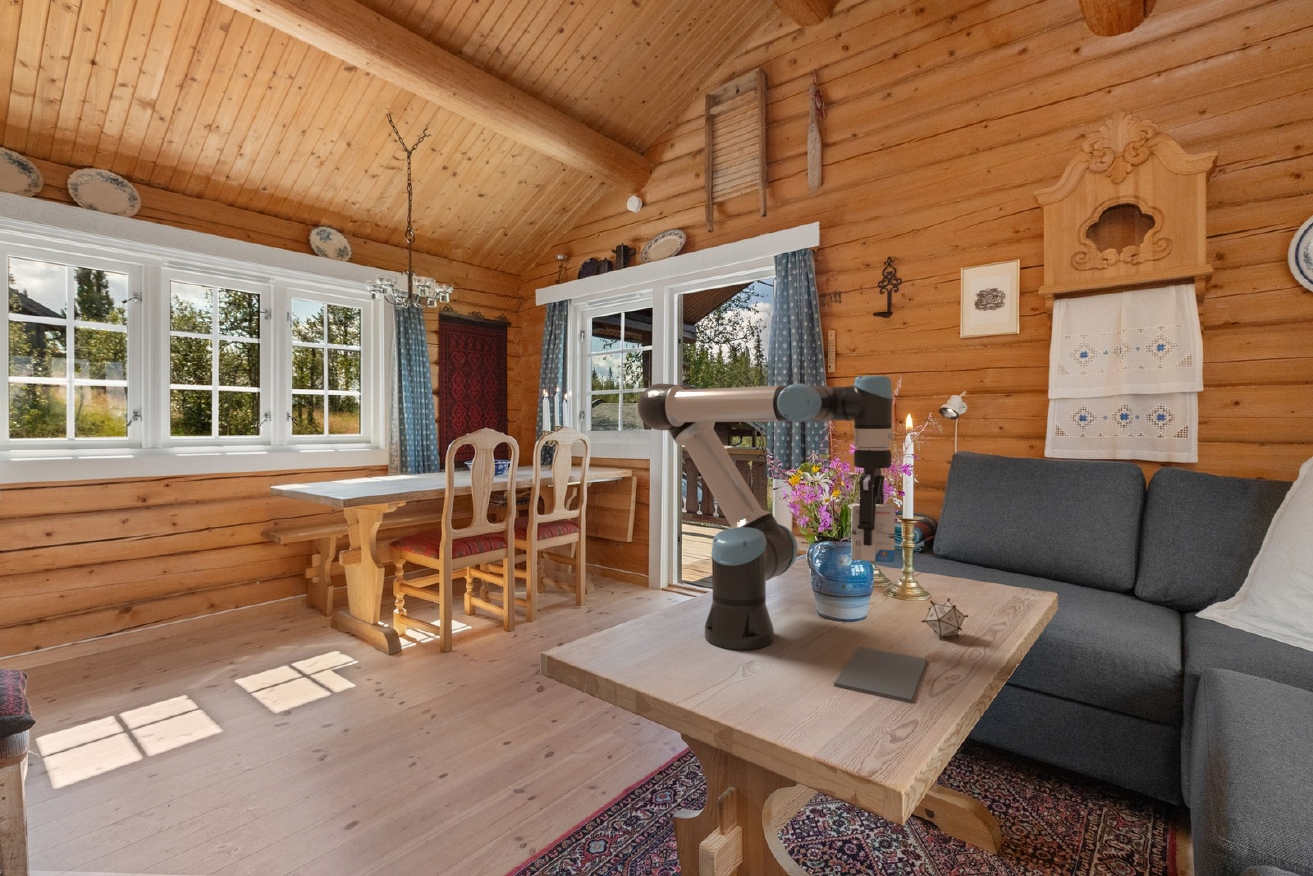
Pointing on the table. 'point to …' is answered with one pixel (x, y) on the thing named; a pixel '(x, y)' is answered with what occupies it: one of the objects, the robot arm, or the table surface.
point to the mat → (882, 674)
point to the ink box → (883, 533)
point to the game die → (944, 618)
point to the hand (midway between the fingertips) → (871, 556)
